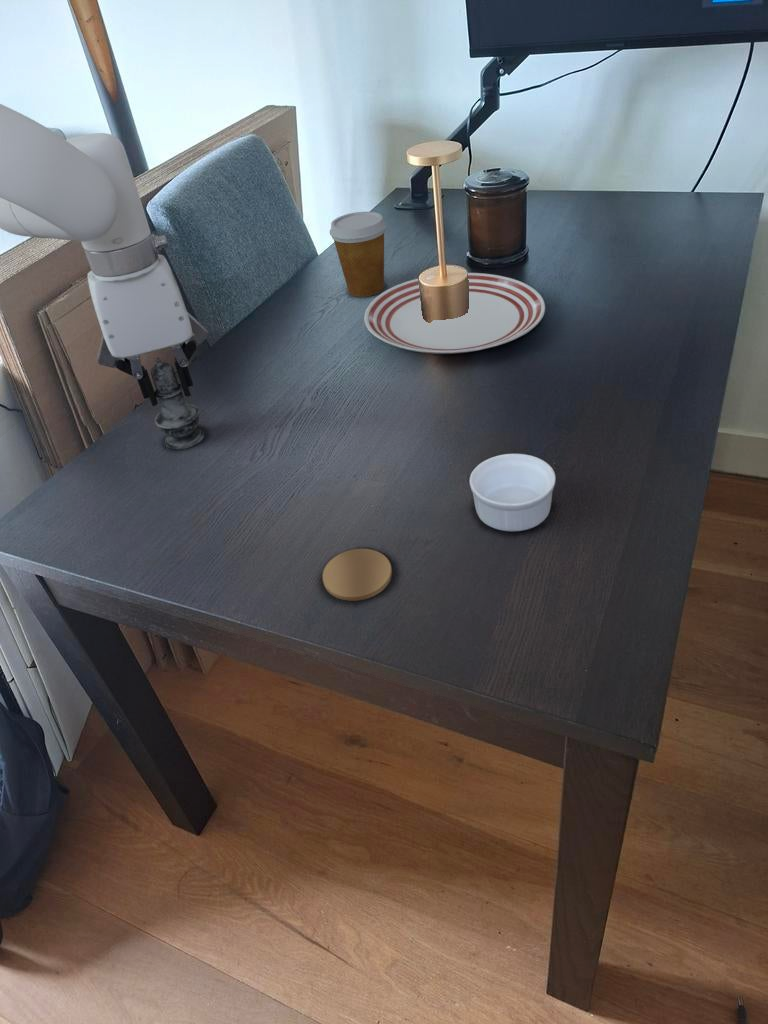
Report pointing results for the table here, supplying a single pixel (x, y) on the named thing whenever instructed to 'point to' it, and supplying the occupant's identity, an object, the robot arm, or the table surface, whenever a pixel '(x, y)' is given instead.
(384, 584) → the coaster
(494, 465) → the ramekin
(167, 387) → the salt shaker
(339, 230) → the disposable coffee cup
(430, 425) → the table surface
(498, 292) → the dinner plate
